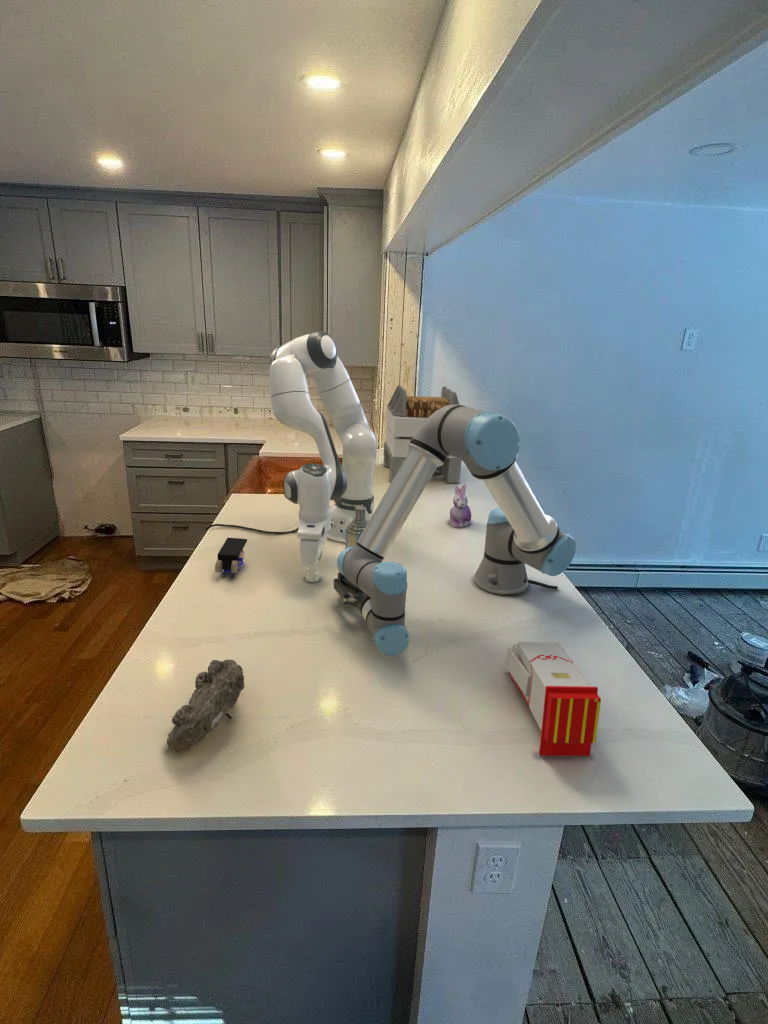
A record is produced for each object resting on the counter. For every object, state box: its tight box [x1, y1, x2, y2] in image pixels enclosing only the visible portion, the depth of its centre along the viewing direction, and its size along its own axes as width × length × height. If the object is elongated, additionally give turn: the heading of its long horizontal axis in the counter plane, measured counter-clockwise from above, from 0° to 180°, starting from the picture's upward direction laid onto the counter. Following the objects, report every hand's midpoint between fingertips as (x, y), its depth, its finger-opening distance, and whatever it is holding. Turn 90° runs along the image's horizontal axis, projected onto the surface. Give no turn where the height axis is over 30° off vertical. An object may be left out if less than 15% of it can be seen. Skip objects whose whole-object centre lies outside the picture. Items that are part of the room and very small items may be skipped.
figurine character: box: [214, 537, 248, 578], centre depth 166 cm, size 7×8×15 cm
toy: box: [505, 641, 602, 757], centre depth 113 cm, size 12×13×30 cm
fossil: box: [166, 658, 245, 754], centre depth 106 cm, size 22×10×15 cm
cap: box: [305, 568, 320, 583], centre depth 164 cm, size 4×4×2 cm
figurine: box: [448, 483, 472, 528], centre depth 209 cm, size 9×10×15 cm
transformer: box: [383, 384, 463, 484], centre depth 268 cm, size 34×33×41 cm
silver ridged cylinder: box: [344, 506, 369, 605], centre depth 151 cm, size 8×8×26 cm
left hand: (315, 567), depth 163 cm, fingers open, 8 cm apart
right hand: (355, 568), depth 157 cm, fingers closed on silver ridged cylinder, 8 cm apart
